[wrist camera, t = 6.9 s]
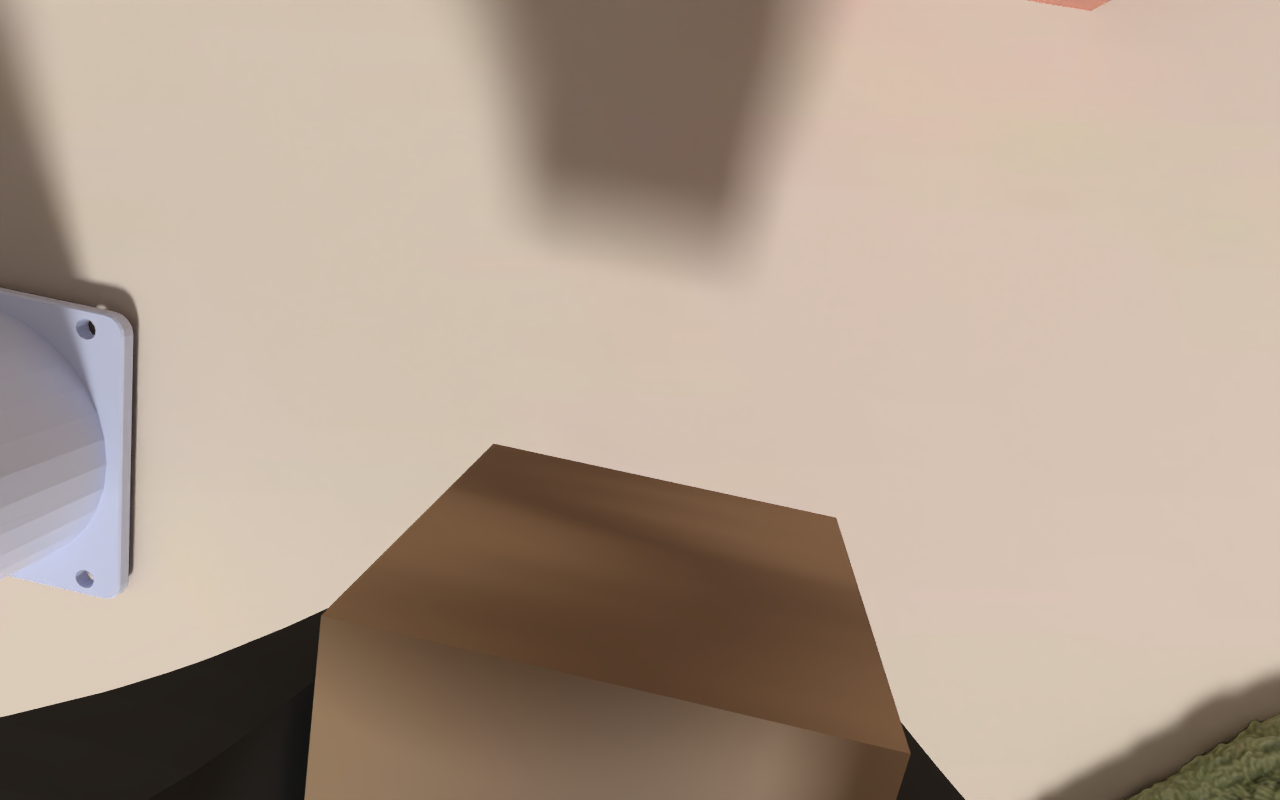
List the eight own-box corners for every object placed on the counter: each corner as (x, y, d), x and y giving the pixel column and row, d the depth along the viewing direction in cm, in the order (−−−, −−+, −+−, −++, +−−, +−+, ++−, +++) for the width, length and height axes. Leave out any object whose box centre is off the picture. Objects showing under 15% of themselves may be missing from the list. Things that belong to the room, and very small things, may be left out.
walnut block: (451, 734, 13) (281, 1052, 8) (493, 443, 12) (321, 616, 7) (758, 808, 13) (771, 1187, 8) (836, 517, 11) (910, 753, 6)
